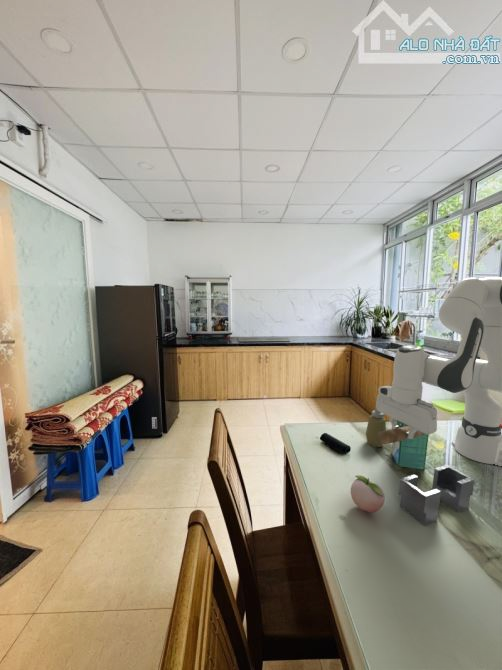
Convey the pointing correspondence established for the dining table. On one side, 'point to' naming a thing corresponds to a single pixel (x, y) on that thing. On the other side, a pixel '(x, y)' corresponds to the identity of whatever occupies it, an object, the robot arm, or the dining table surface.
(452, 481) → the bracket
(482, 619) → the dining table surface
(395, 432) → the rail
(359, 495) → the decorative fruit
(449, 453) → the dining table surface
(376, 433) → the squeeze bottle
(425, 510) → the bracket
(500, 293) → the robot arm
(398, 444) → the milk carton
